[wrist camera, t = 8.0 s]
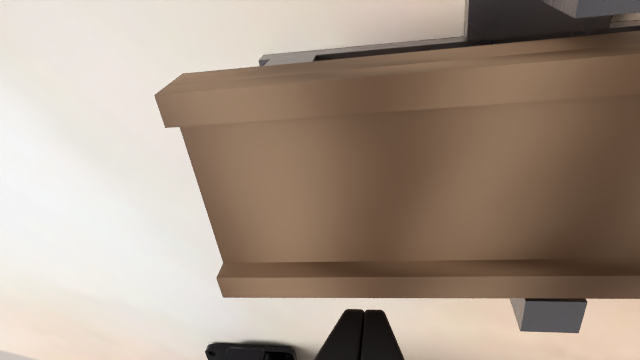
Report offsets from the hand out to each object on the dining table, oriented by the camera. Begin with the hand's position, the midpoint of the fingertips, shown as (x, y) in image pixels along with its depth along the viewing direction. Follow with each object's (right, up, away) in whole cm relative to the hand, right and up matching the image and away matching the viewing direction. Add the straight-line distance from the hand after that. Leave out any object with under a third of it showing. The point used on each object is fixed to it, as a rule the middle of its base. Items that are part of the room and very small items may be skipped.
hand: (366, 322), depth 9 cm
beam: (+7, +3, +4) cm, 8 cm away
